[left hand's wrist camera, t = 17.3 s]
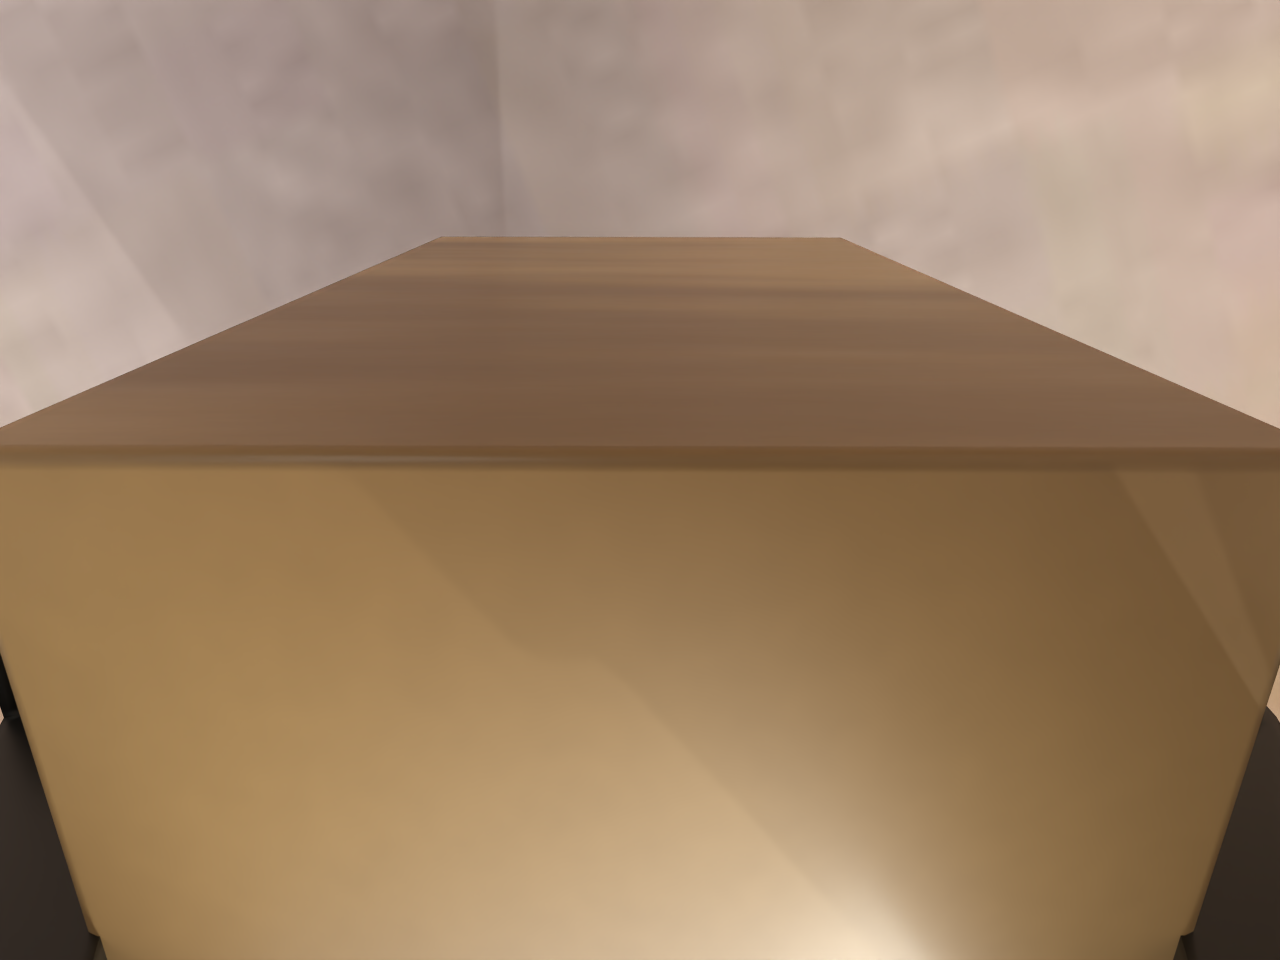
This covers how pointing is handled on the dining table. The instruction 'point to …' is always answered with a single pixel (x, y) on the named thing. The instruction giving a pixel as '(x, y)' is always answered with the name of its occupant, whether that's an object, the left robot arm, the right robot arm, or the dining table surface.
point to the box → (640, 619)
